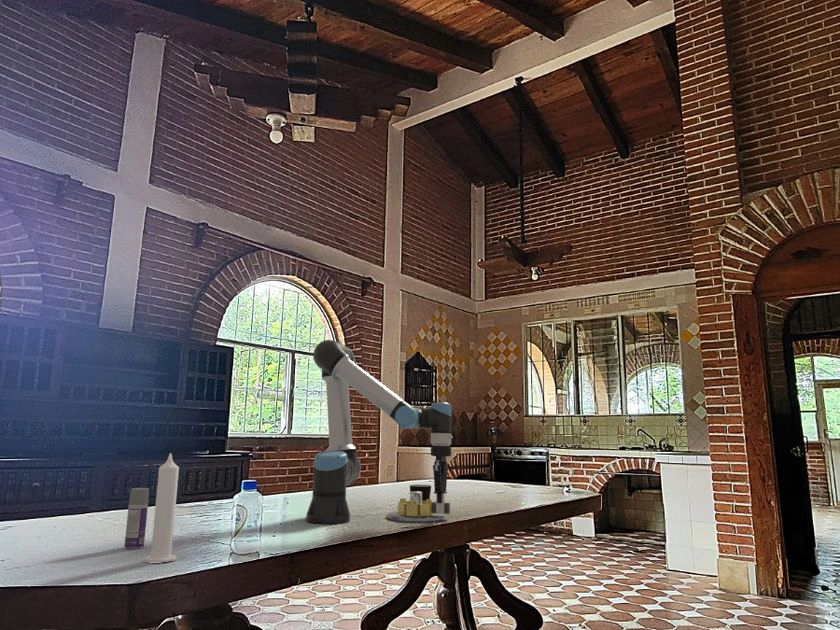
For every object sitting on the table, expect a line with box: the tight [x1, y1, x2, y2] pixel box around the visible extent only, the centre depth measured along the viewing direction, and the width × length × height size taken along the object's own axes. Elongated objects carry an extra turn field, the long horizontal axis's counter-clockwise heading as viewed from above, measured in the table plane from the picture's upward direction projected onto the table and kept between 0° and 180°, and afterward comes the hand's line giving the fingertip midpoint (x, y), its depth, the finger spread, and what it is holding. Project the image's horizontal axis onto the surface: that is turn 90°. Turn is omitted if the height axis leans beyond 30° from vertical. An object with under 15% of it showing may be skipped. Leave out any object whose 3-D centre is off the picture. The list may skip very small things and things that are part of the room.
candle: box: [143, 453, 180, 562], centre depth 144 cm, size 7×7×25 cm
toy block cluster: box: [397, 497, 451, 517], centre depth 215 cm, size 19×12×5 cm, turn 78°
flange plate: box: [386, 491, 446, 524], centre depth 216 cm, size 21×21×9 cm
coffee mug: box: [409, 484, 432, 501], centre depth 234 cm, size 12×9×10 cm
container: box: [123, 487, 150, 550], centre depth 157 cm, size 5×5×15 cm
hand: (440, 512), depth 211 cm, fingers closed
